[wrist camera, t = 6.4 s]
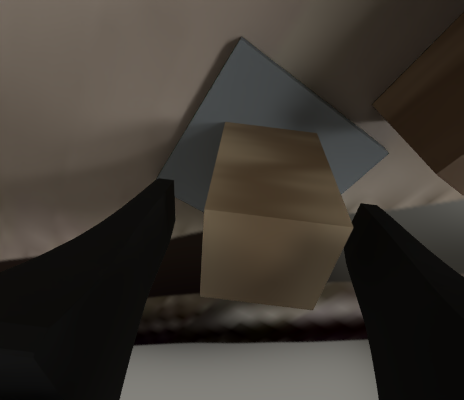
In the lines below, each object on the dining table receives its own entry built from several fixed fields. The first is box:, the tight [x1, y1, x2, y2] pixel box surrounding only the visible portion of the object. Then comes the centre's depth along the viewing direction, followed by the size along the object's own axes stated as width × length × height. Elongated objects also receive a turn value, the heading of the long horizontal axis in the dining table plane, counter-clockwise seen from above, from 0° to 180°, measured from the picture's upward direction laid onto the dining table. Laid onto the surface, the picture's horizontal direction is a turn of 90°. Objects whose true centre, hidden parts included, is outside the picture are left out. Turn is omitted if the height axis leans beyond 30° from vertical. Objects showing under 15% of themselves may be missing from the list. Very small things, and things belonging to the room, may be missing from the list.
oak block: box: [200, 122, 354, 310], centre depth 11 cm, size 4×4×6 cm
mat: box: [156, 36, 389, 212], centre depth 14 cm, size 8×8×1 cm
